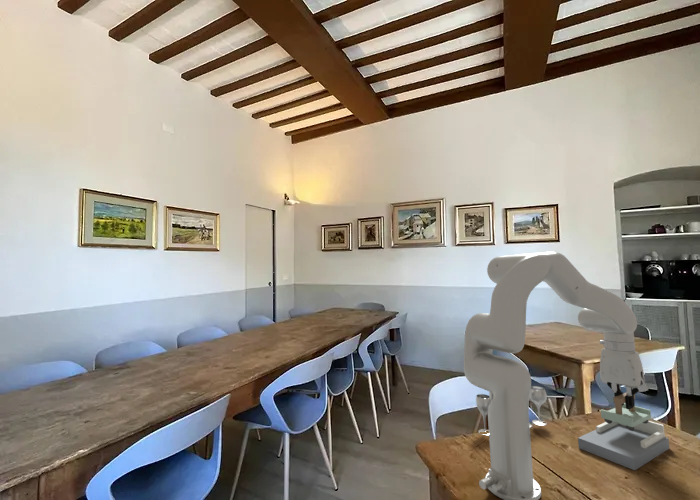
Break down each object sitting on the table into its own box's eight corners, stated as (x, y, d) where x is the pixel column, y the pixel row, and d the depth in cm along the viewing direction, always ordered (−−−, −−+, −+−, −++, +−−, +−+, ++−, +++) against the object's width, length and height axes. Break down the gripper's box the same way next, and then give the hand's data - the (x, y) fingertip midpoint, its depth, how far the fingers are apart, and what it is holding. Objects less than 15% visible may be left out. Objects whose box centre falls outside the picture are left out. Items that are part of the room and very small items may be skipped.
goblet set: (484, 437, 111) (482, 395, 112) (473, 429, 116) (471, 390, 117) (552, 425, 118) (549, 386, 120) (539, 418, 124) (536, 381, 125)
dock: (634, 470, 90) (632, 445, 91) (578, 448, 102) (576, 425, 103) (669, 448, 101) (667, 425, 101) (614, 430, 113) (613, 410, 113)
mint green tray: (633, 433, 97) (630, 403, 98) (601, 423, 104) (599, 395, 105) (651, 423, 103) (649, 395, 104) (620, 414, 110) (618, 388, 111)
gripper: (585, 343, 110) (590, 401, 109) (645, 352, 97) (652, 418, 95) (597, 340, 114) (602, 396, 113) (656, 348, 100) (663, 412, 99)
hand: (625, 406), depth 104 cm, fingers closed on mint green tray
